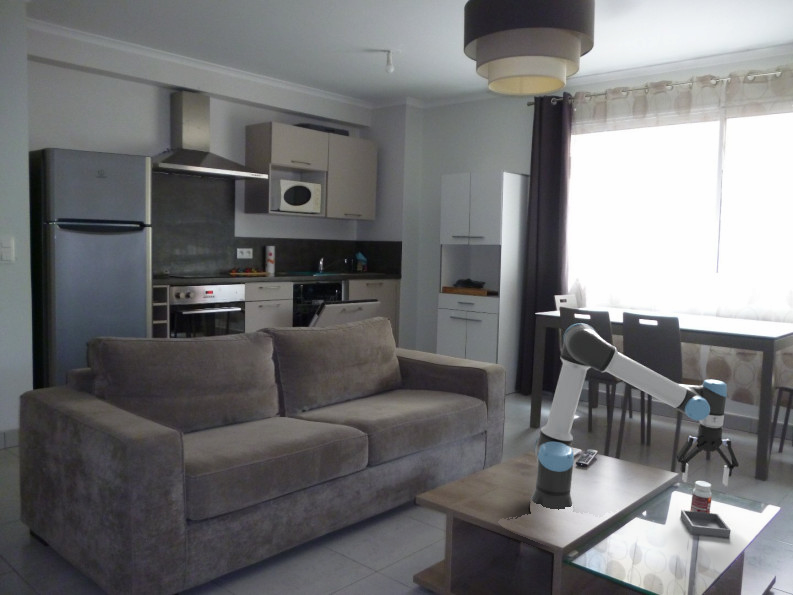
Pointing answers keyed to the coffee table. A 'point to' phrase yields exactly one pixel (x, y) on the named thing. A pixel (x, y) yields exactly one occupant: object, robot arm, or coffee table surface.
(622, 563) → the coffee table surface
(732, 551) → the coffee table surface
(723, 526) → the tray
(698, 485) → the pill bottle
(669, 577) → the coffee table surface
